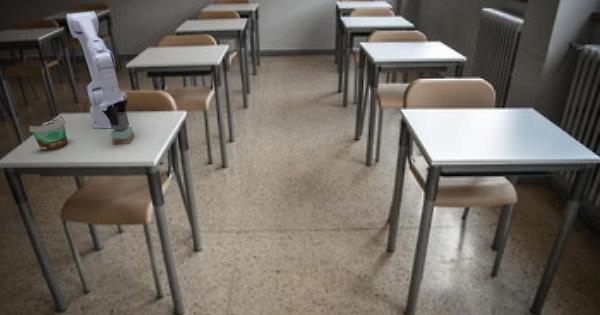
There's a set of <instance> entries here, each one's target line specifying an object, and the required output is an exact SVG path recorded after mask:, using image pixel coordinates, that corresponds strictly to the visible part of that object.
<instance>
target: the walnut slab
mask: <svg viewBox="0 0 600 315" xmlns="http://www.w3.org/2000/svg"><path fill="white" fill-rule="evenodd" d="M134 139H135V133H134V131H133V134H131V135H130V136H129V137H128V138H126V139H112V138H111V140H112V144H113V145H114V146H115V145H117V146H118V145H129V144H130V145H131V143H132V142H133V141H134Z"/></svg>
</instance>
